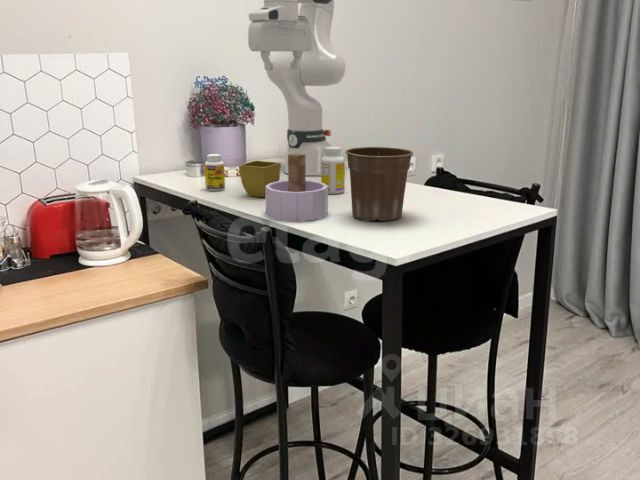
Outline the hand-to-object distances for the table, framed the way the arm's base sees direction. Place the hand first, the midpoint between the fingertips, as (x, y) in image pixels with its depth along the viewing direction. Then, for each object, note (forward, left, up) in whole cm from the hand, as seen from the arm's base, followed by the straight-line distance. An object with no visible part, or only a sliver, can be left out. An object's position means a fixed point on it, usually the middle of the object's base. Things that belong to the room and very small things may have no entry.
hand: (281, 69), depth 171 cm
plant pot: (0, +33, -34) cm, 48 cm away
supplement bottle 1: (+8, -20, -34) cm, 41 cm away
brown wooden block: (+12, +17, -33) cm, 39 cm away
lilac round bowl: (+12, +17, -34) cm, 40 cm away
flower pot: (+4, -5, -34) cm, 35 cm away
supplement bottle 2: (-13, +7, -34) cm, 37 cm away
